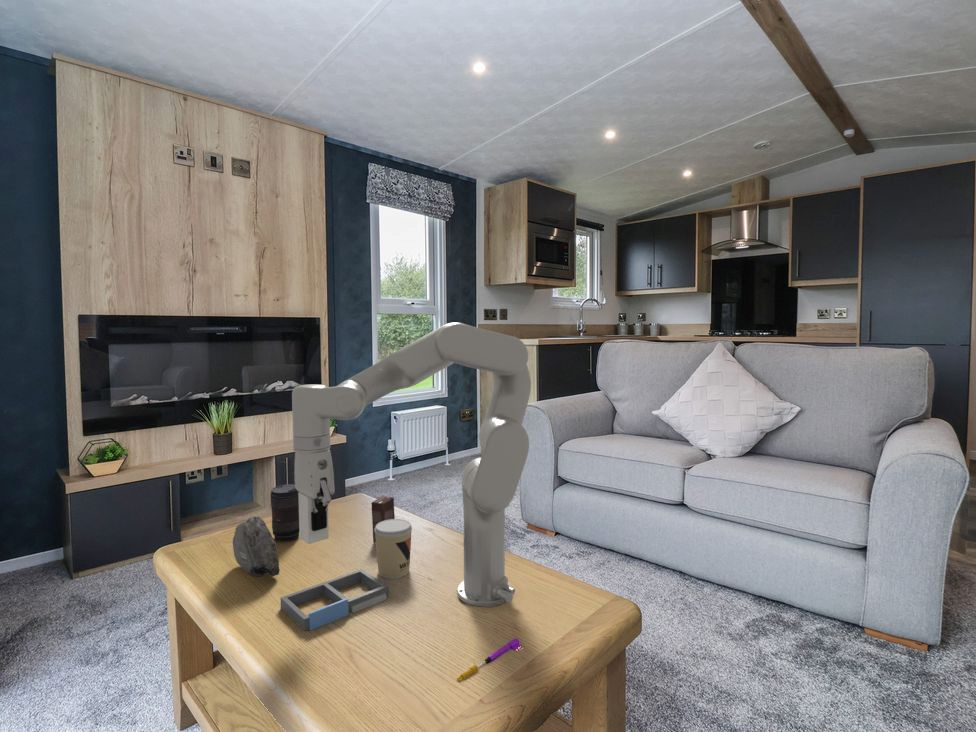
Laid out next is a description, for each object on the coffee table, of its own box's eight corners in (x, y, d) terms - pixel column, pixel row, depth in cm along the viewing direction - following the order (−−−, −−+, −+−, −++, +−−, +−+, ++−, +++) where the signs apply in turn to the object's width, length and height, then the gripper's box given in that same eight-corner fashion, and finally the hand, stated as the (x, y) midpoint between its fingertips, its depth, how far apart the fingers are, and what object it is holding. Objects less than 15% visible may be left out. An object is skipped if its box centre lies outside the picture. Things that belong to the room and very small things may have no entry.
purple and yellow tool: (515, 640, 103) (455, 680, 92) (516, 635, 103) (456, 675, 91) (525, 649, 101) (465, 691, 90) (526, 644, 101) (466, 685, 90)
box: (382, 535, 156) (381, 495, 155) (395, 537, 155) (395, 497, 154) (371, 542, 151) (370, 501, 150) (385, 544, 149) (384, 503, 148)
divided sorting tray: (390, 597, 120) (389, 582, 119) (305, 632, 106) (305, 615, 106) (361, 578, 129) (361, 564, 129) (280, 608, 115) (280, 593, 115)
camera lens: (265, 541, 152) (264, 490, 151) (284, 531, 159) (282, 483, 158) (289, 544, 149) (287, 493, 148) (307, 534, 157) (305, 485, 156)
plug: (328, 538, 113) (327, 487, 112) (308, 544, 110) (307, 491, 109) (319, 532, 116) (318, 482, 116) (299, 537, 113) (298, 487, 113)
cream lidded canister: (404, 581, 127) (404, 533, 126) (369, 578, 129) (368, 530, 128) (417, 564, 136) (417, 519, 136) (383, 561, 138) (383, 517, 137)
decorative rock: (281, 580, 128) (280, 520, 127) (254, 589, 123) (251, 527, 122) (256, 559, 140) (254, 504, 139) (230, 567, 135) (228, 510, 134)
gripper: (347, 446, 108) (348, 532, 110) (311, 434, 121) (313, 511, 122) (312, 452, 103) (314, 542, 104) (278, 439, 115) (280, 520, 117)
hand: (313, 525), depth 113 cm, fingers closed on plug, 4 cm apart
